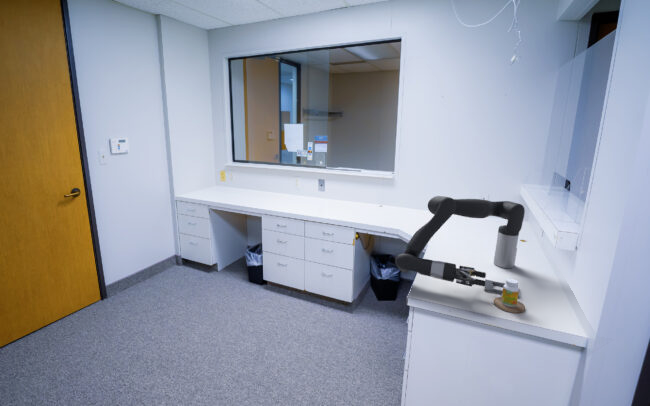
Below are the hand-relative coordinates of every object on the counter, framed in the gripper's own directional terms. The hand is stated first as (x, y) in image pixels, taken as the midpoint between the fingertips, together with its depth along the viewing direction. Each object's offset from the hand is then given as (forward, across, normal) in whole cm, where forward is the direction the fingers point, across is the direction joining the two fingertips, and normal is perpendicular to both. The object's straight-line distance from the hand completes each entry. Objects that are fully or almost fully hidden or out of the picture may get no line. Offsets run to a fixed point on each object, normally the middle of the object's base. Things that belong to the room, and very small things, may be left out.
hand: (485, 279), depth 130 cm
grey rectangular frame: (+7, +14, +9) cm, 18 cm away
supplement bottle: (+9, 0, +8) cm, 12 cm away
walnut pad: (+9, 0, +9) cm, 13 cm away
